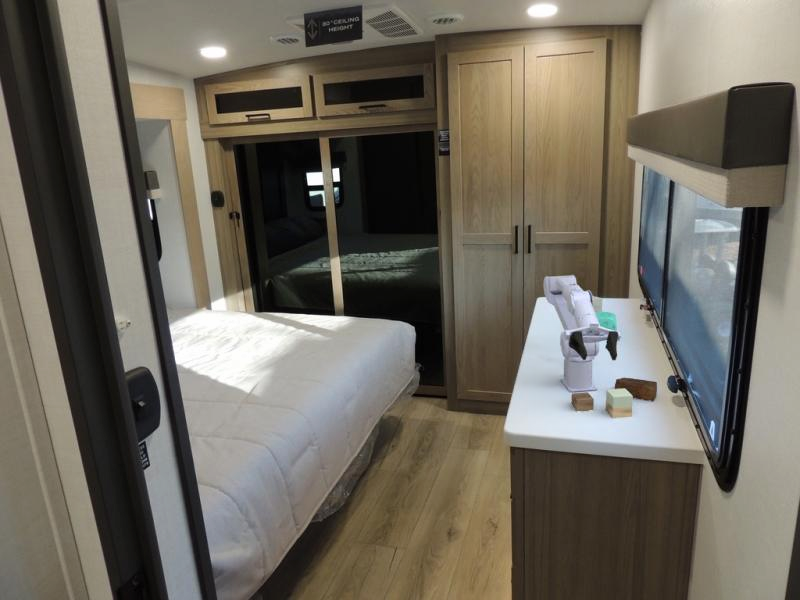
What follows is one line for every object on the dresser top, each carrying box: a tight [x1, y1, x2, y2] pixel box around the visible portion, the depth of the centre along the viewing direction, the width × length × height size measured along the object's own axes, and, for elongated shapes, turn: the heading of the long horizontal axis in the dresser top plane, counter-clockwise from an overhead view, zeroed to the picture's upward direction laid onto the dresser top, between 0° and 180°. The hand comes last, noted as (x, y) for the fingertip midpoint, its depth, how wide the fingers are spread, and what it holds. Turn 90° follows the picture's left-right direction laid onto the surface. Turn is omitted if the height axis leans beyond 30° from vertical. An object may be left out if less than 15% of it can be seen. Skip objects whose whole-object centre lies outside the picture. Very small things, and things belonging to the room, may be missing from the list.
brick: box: [613, 377, 658, 402], centre depth 164 cm, size 11×4×5 cm, turn 56°
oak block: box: [605, 400, 633, 419], centre depth 154 cm, size 5×5×3 cm
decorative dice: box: [595, 311, 618, 331], centre depth 214 cm, size 8×8×8 cm
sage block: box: [605, 388, 634, 408], centre depth 154 cm, size 5×5×3 cm
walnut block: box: [570, 391, 595, 412], centre depth 159 cm, size 4×4×4 cm
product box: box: [592, 295, 603, 313], centre depth 240 cm, size 6×6×7 cm
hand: (600, 357), depth 149 cm, fingers open, 7 cm apart
